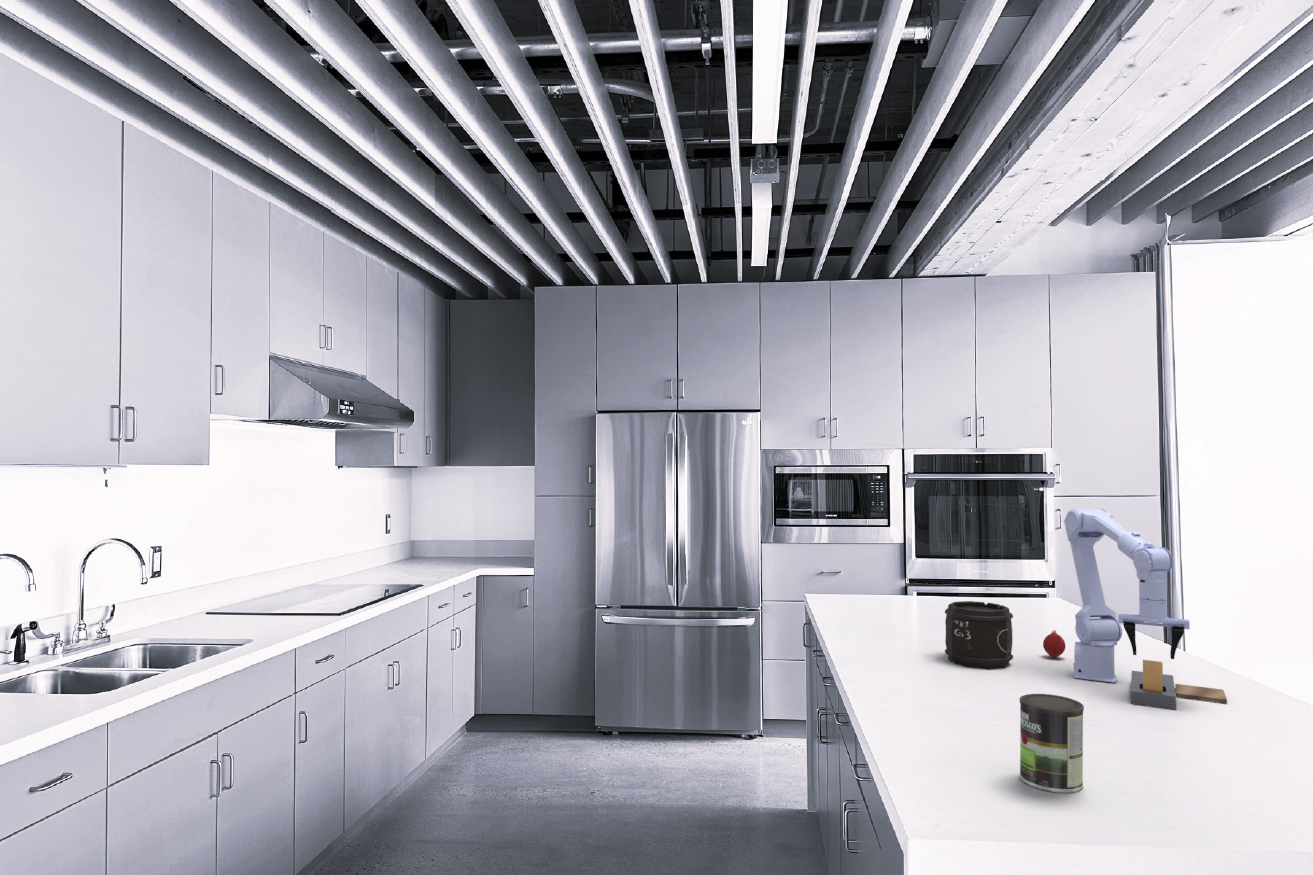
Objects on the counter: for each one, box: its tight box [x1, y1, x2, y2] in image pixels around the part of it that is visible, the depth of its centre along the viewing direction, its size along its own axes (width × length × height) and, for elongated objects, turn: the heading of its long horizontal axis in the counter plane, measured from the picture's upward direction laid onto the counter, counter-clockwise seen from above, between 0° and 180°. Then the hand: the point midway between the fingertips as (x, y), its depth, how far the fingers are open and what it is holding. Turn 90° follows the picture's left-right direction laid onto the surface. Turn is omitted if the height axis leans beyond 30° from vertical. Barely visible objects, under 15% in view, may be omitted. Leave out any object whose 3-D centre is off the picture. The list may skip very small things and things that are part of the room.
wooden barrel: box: [944, 600, 1014, 670], centre depth 235 cm, size 18×18×16 cm
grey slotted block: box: [1130, 670, 1177, 711], centre depth 203 cm, size 9×22×3 cm, turn 150°
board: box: [1174, 683, 1228, 705], centre depth 203 cm, size 10×10×1 cm
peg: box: [1142, 659, 1164, 692], centre depth 199 cm, size 4×4×9 cm
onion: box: [1042, 629, 1067, 659], centre depth 240 cm, size 6×6×8 cm
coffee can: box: [1019, 693, 1085, 794], centre depth 148 cm, size 10×10×14 cm
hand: (1153, 656), depth 199 cm, fingers open, 7 cm apart
